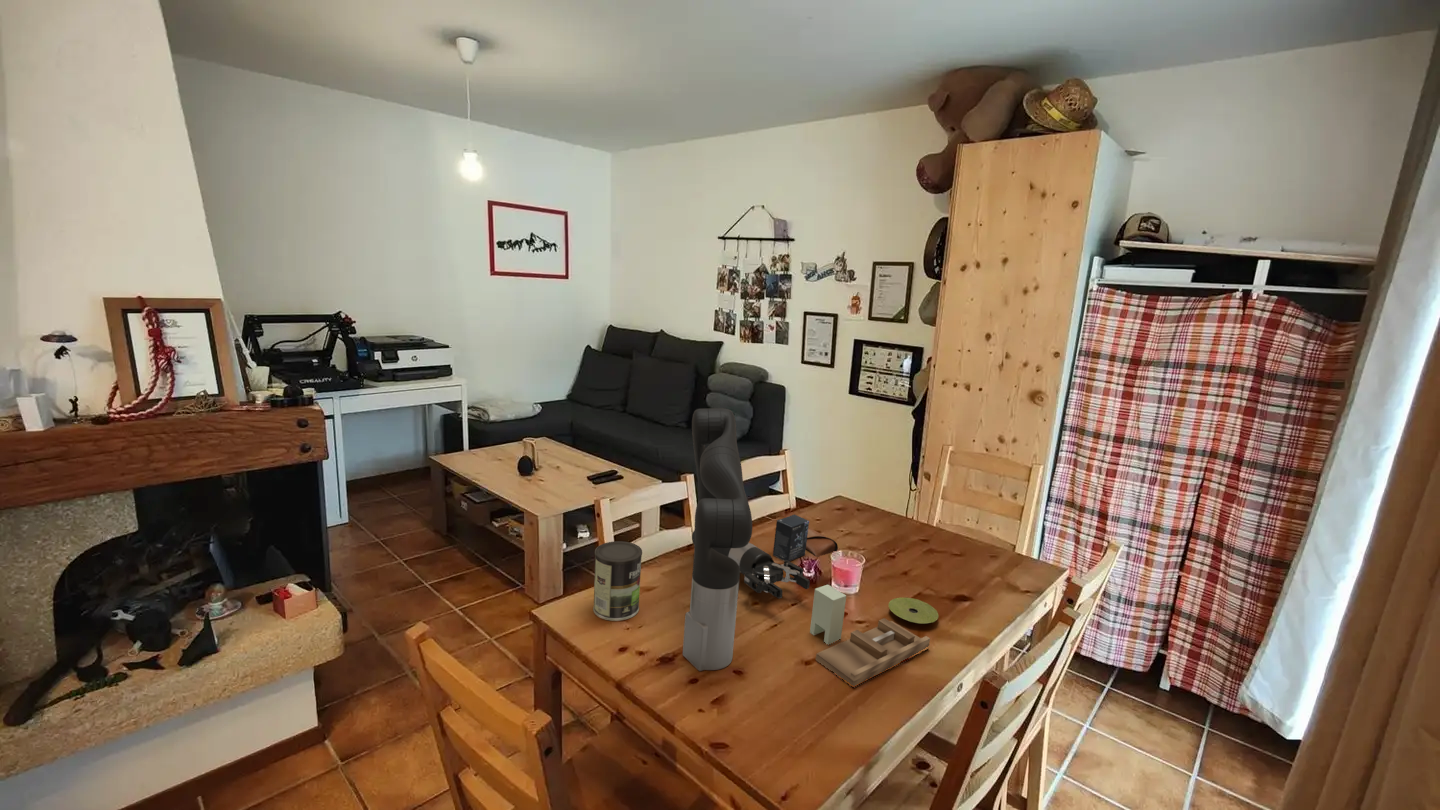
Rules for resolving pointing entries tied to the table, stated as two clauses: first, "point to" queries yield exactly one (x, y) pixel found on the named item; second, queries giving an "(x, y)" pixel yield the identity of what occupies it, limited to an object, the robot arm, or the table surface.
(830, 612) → the clip
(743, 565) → the robot arm
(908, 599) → the green washer
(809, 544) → the sunglasses case
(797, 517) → the box
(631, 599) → the coffee can
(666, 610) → the table surface
